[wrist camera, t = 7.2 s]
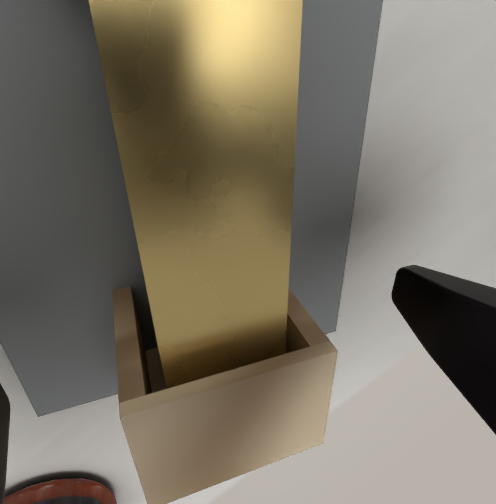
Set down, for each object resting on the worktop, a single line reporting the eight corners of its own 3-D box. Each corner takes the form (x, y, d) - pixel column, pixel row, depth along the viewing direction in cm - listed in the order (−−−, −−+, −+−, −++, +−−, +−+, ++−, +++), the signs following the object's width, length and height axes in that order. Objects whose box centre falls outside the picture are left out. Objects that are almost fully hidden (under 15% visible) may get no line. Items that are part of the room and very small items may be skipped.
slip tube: (233, -215, 7) (324, -388, 4) (247, 337, 14) (283, 408, 12) (36, -253, 6) (-16, -509, 3) (160, 360, 13) (177, 445, 11)
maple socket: (265, 257, 14) (337, 350, 10) (264, 338, 16) (323, 442, 12) (112, 289, 12) (120, 417, 8) (134, 374, 14) (149, 510, 10)
